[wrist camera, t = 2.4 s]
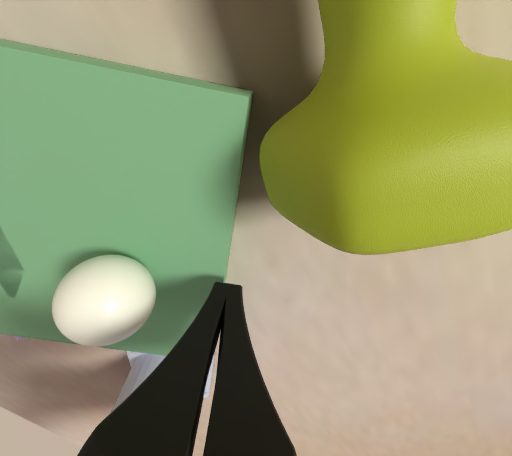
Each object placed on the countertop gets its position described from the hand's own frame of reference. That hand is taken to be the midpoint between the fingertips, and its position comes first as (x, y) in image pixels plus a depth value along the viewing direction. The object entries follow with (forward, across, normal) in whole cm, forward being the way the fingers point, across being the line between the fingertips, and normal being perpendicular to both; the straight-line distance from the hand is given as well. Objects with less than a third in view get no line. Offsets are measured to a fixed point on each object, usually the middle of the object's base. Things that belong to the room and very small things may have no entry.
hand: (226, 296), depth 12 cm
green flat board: (+3, +11, 0) cm, 12 cm away
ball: (-1, +5, 0) cm, 5 cm away
